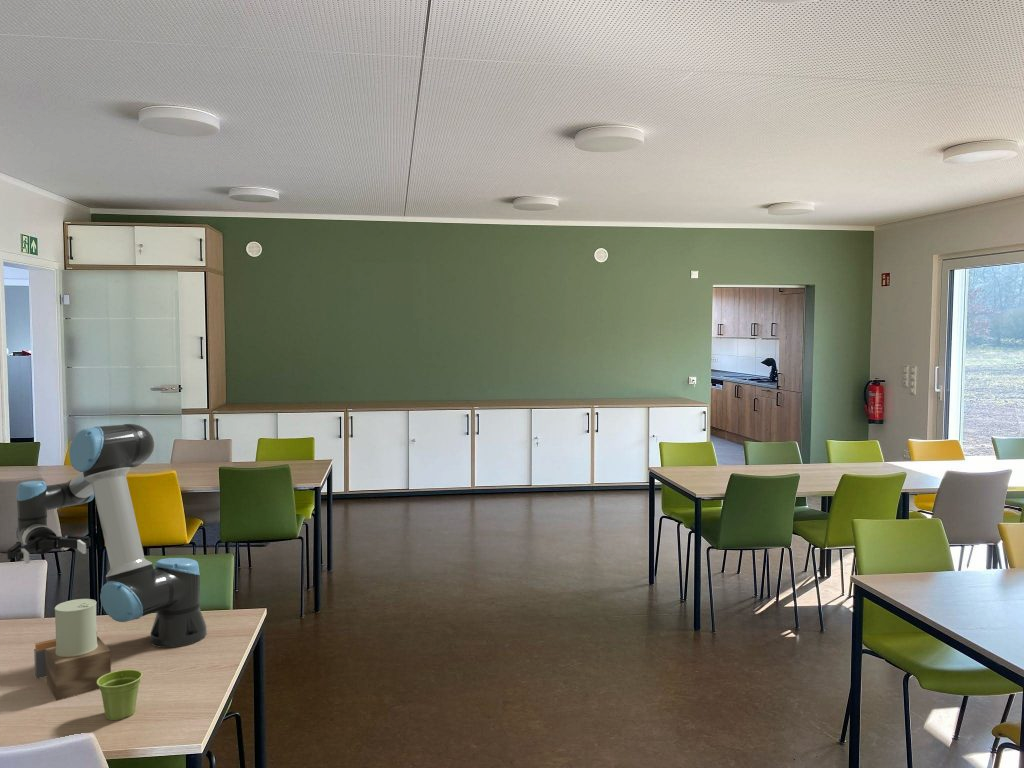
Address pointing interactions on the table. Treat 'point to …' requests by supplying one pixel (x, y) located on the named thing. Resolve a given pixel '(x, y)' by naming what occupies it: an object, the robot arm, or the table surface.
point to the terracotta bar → (45, 645)
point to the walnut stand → (76, 671)
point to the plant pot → (119, 692)
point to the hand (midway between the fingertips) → (56, 553)
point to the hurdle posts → (40, 663)
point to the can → (75, 627)
